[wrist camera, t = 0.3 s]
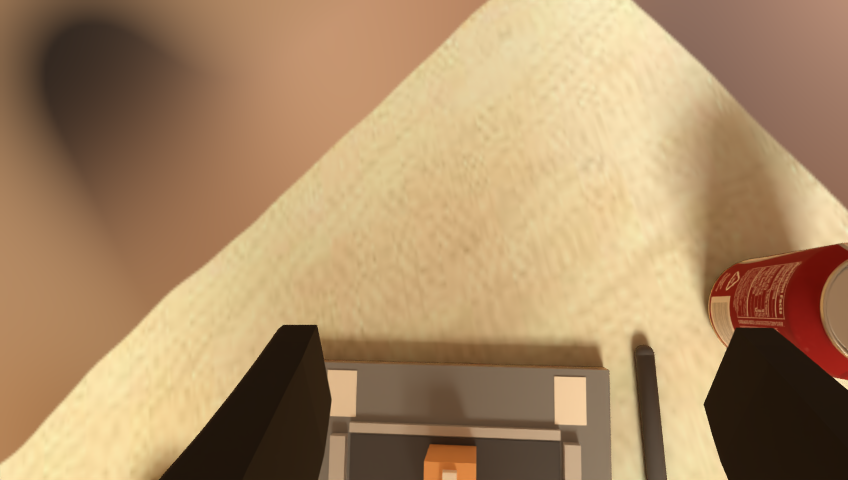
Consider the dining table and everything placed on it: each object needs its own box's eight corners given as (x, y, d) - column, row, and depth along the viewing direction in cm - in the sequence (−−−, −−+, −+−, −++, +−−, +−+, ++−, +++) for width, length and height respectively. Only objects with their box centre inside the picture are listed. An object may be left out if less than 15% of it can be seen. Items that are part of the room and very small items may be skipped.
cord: (674, 585, 36) (681, 595, 34) (655, 585, 36) (661, 595, 34) (650, 344, 37) (655, 345, 36) (631, 344, 38) (636, 346, 36)
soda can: (710, 364, 37) (821, 392, 25) (697, 263, 38) (798, 243, 26) (818, 358, 36) (983, 383, 24) (802, 255, 37) (954, 231, 25)
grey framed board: (608, 589, 36) (617, 609, 34) (305, 569, 38) (293, 587, 35) (603, 367, 38) (612, 371, 35) (313, 359, 39) (303, 362, 37)
